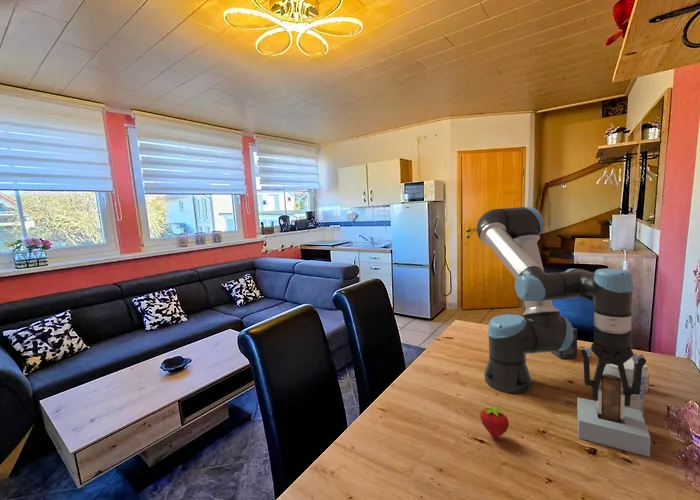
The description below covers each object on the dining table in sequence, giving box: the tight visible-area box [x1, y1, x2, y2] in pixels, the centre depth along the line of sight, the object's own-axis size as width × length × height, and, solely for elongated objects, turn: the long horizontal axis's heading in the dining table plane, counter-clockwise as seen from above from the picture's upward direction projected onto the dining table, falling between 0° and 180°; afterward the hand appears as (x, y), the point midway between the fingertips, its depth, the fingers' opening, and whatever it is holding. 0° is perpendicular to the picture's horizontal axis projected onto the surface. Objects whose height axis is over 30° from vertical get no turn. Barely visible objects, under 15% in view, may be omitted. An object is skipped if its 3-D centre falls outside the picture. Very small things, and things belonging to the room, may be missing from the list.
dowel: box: [600, 374, 621, 423], centre depth 85 cm, size 4×4×14 cm
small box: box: [551, 326, 578, 360], centre depth 134 cm, size 13×7×12 cm, turn 179°
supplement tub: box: [603, 357, 645, 415], centre depth 95 cm, size 10×10×15 cm
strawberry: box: [479, 403, 510, 439], centre depth 87 cm, size 6×8×10 cm
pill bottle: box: [643, 363, 650, 394], centre depth 104 cm, size 5×5×8 cm
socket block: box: [576, 397, 651, 458], centre depth 86 cm, size 14×12×5 cm
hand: (610, 413), depth 86 cm, fingers closed on dowel, 4 cm apart
